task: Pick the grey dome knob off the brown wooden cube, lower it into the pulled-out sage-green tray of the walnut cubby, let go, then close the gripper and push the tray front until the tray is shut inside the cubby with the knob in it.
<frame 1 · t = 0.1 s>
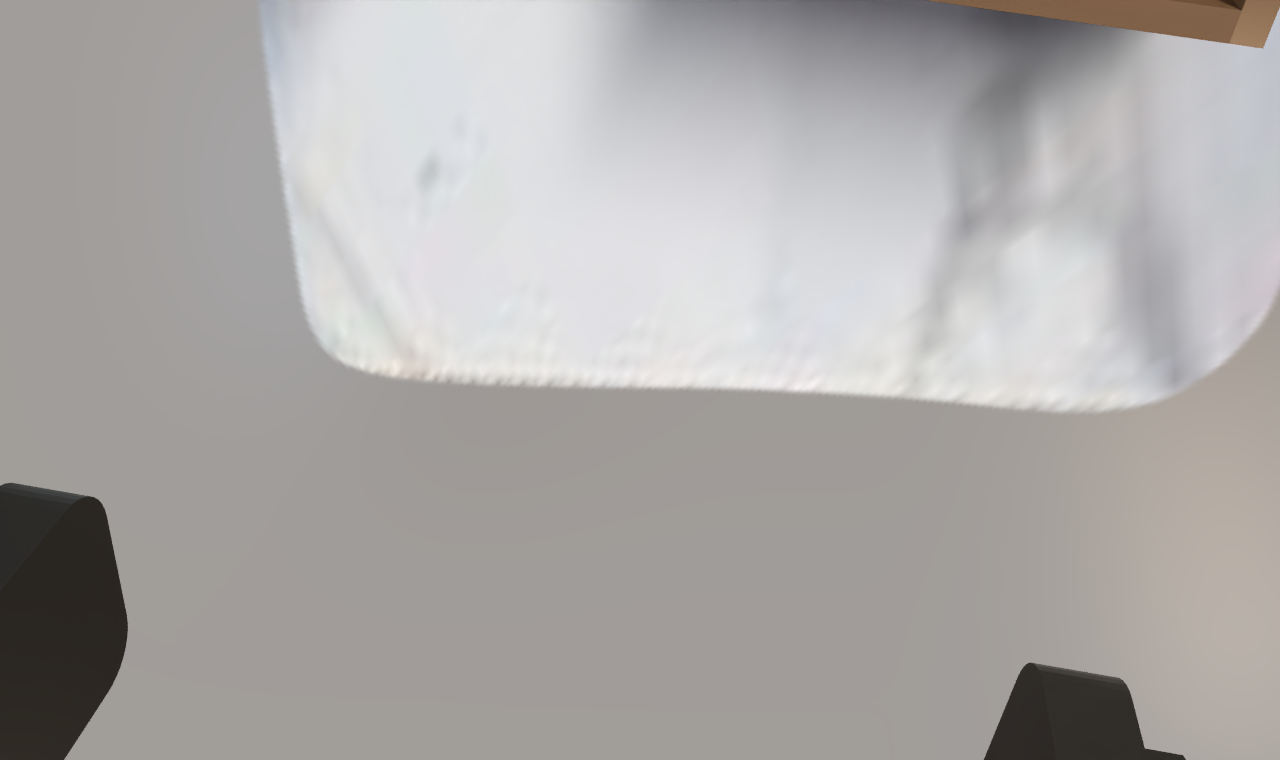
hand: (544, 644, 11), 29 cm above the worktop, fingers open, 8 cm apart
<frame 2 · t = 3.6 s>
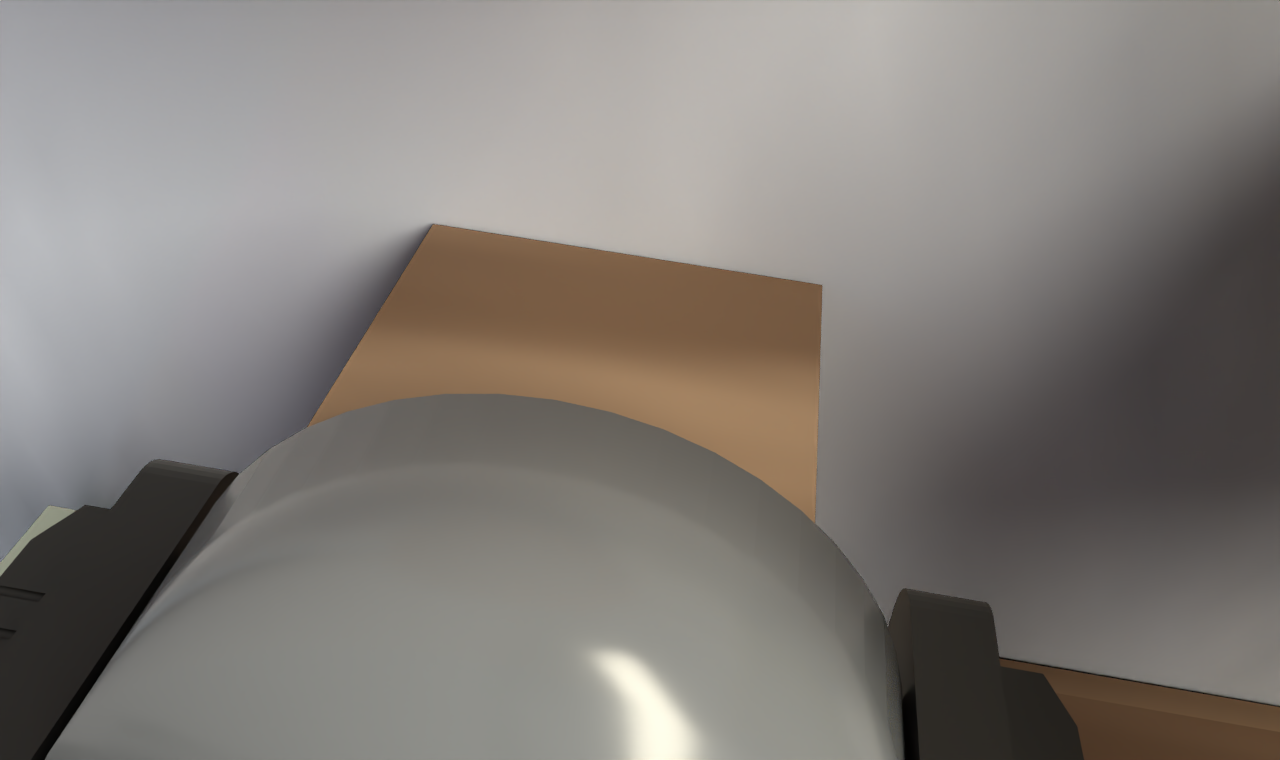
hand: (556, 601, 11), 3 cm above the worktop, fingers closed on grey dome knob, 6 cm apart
brown wooden cube: (609, 412, 13), on the worktop
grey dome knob: (534, 689, 10), point 4 cm above the worktop, touching gripper, brown wooden cube
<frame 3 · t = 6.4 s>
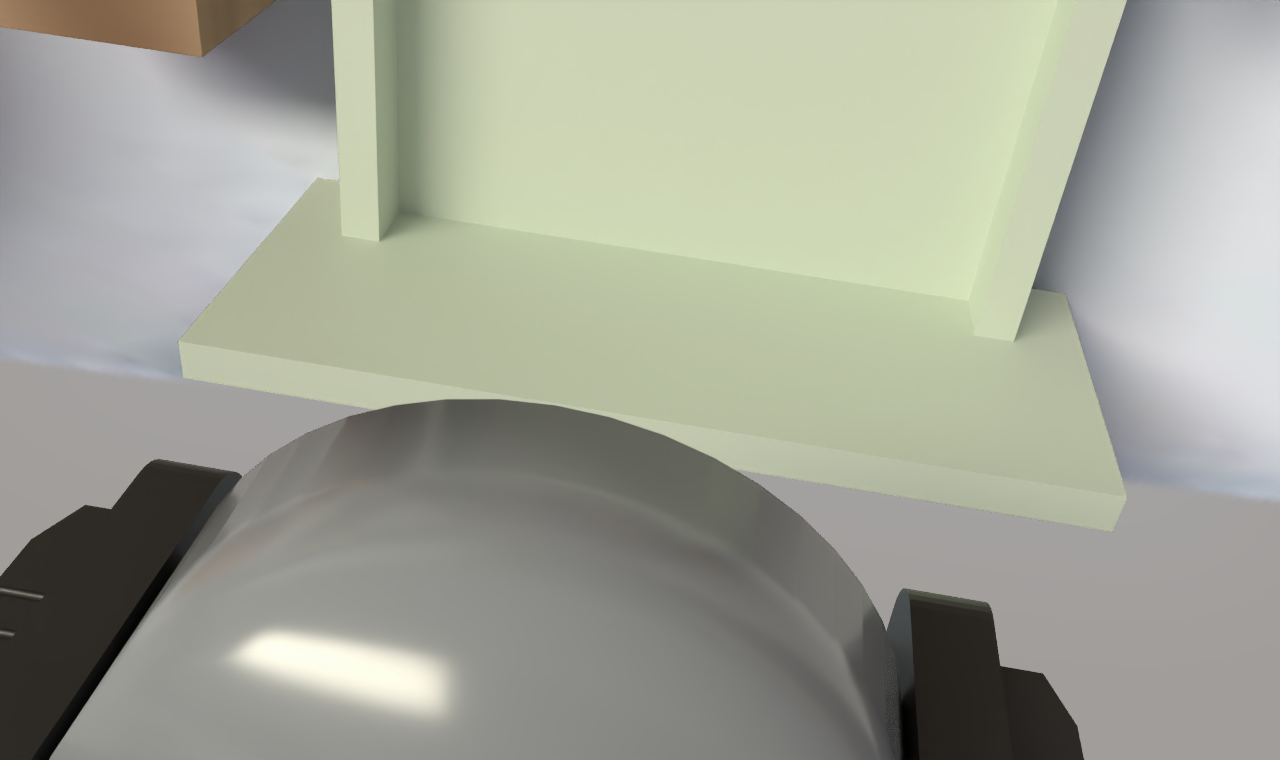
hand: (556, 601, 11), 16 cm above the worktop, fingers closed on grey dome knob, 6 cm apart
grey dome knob: (534, 693, 10), point 18 cm above the worktop, touching gripper
tray: (702, 39, 21), point 4 cm above the worktop, slide at 9.0 cm
when the fingers open (2 cm above the worktop, at t = 9.3 s): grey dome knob drops 2 cm, resting on tray.
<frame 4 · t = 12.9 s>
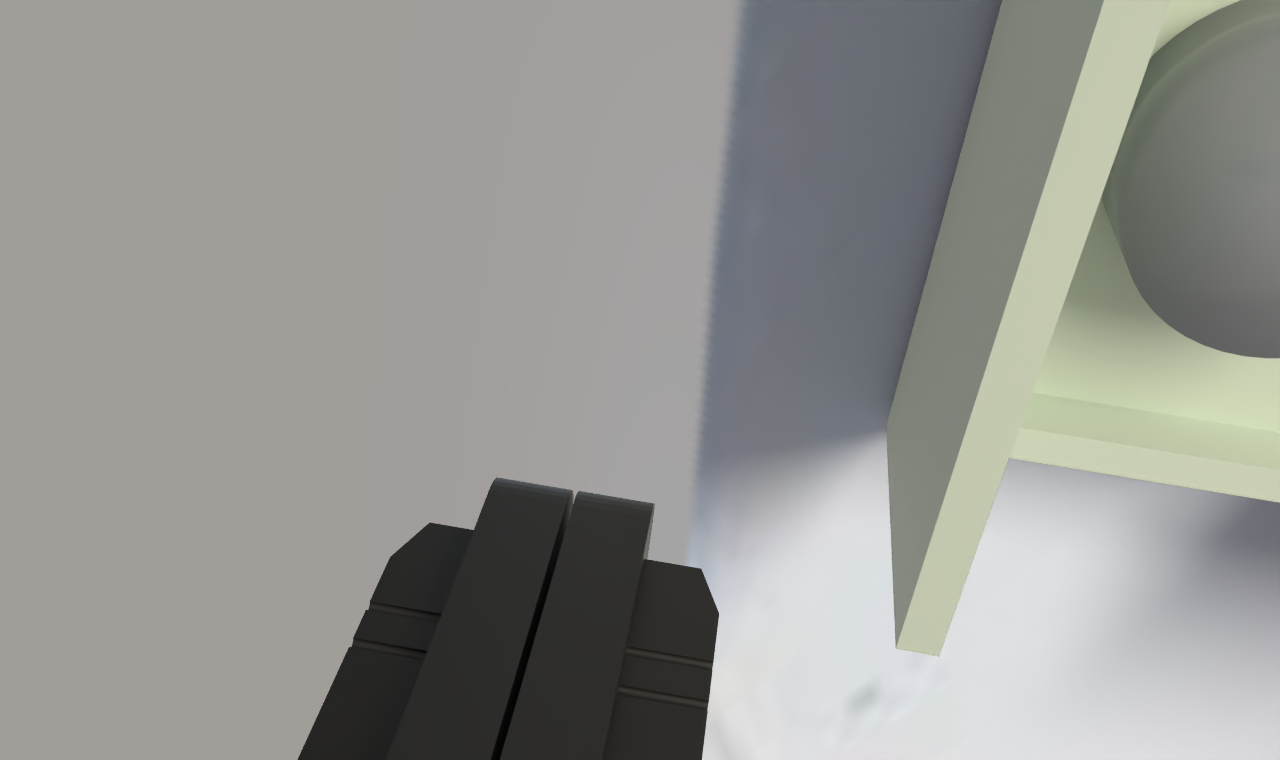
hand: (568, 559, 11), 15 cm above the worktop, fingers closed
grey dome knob: (1270, 151, 22), point 1 cm above the worktop, touching tray
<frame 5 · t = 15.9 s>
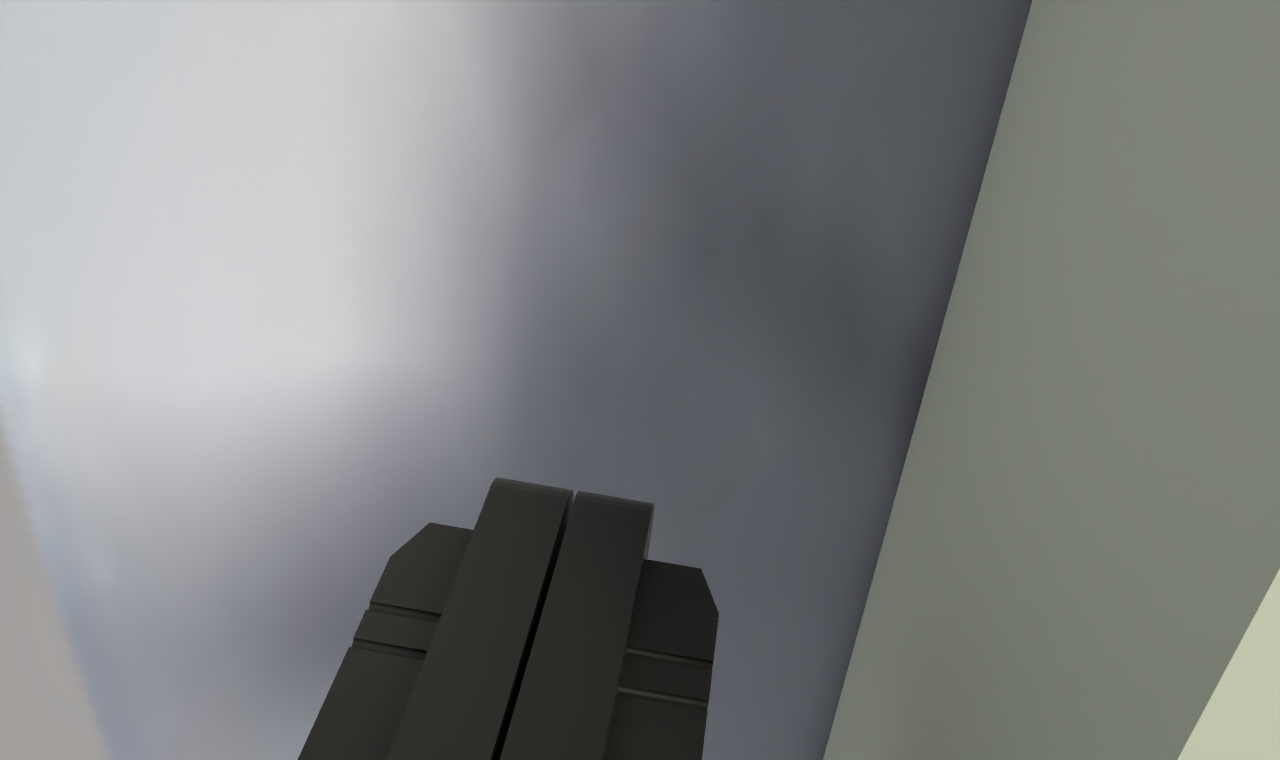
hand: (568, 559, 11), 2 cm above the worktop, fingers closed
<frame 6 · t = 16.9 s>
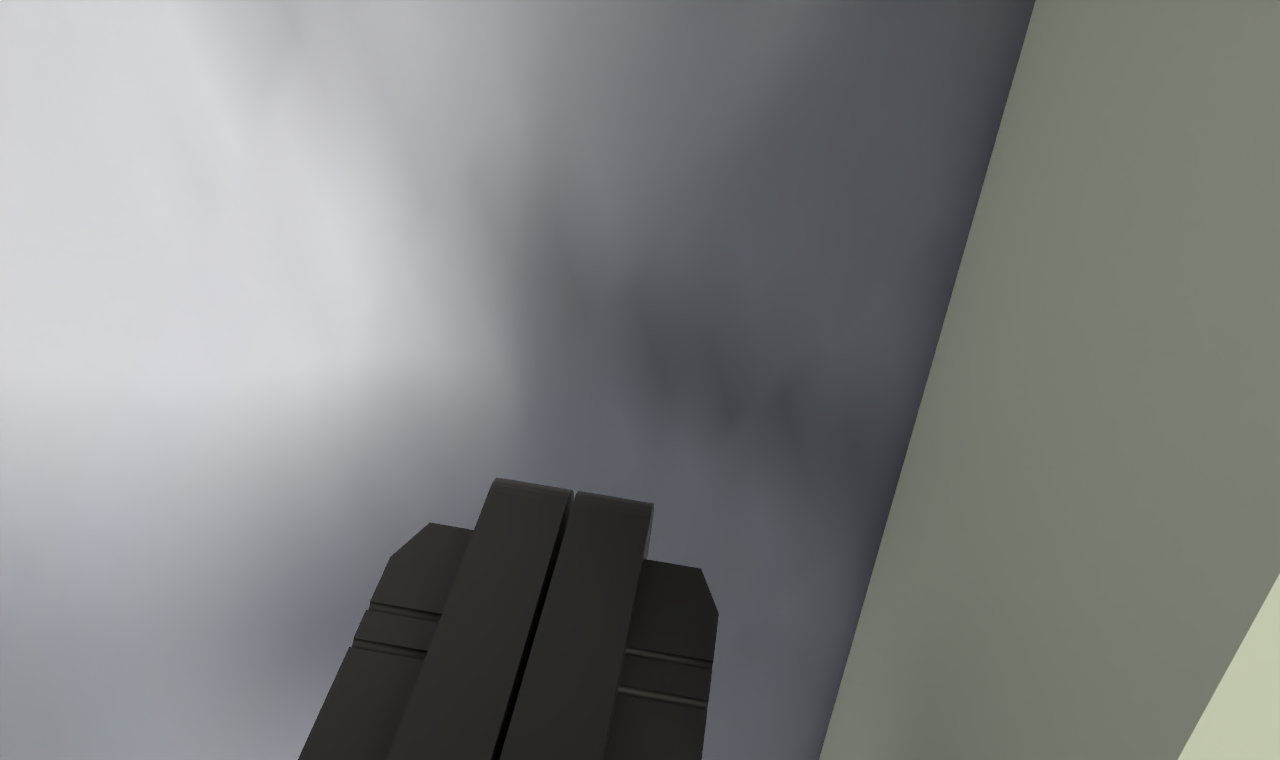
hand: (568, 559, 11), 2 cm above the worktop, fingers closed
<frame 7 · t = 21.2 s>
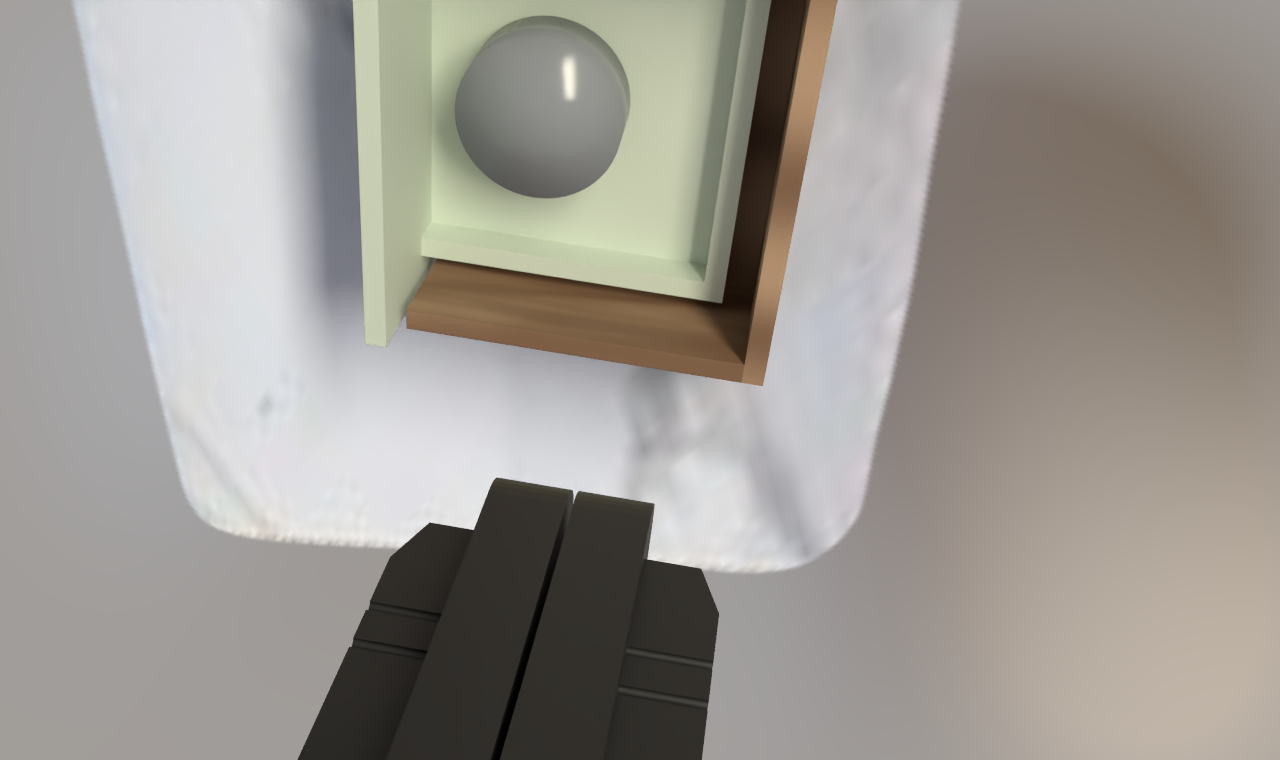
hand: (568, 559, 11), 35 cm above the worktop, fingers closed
cubby: (601, 85, 46), on the worktop
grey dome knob: (550, 96, 45), point 1 cm above the worktop, touching tray
tray: (567, 120, 42), point 4 cm above the worktop, slide at 0.0 cm, touching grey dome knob
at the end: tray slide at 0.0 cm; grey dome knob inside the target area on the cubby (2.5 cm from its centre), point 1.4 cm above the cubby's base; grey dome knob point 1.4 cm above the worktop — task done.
